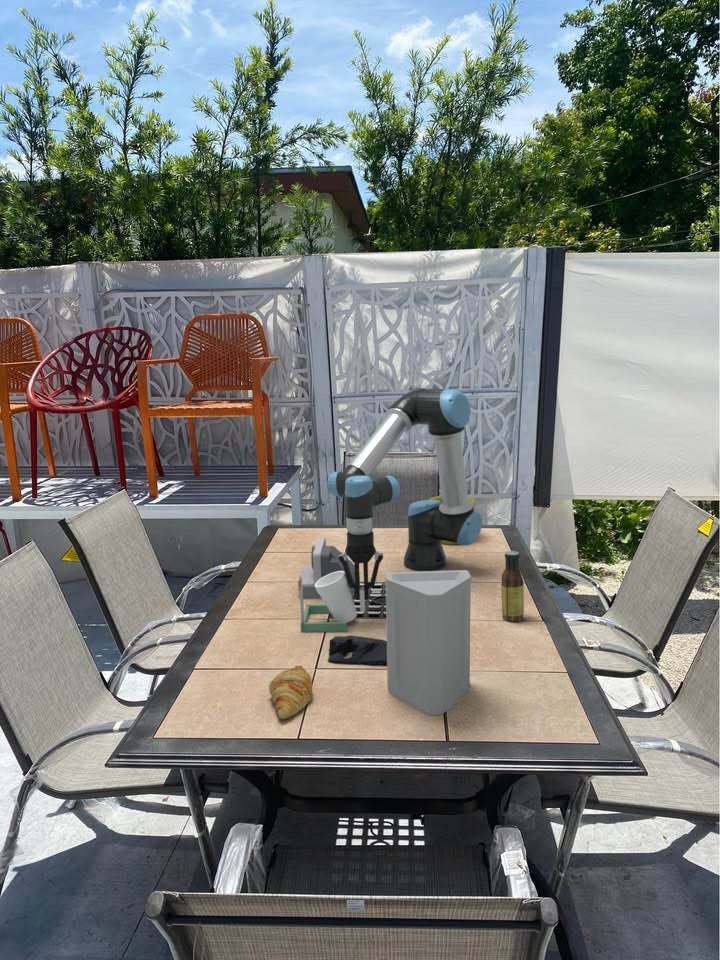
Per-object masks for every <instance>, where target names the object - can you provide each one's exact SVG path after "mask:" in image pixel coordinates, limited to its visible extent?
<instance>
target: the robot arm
mask: <svg viewBox="0 0 720 960" xmlns="http://www.w3.org/2000/svg"><path fill="white" fill-rule="evenodd" d="M470 415H471V406H470V401H469V399H468V398H467V396H466V395H465V394H464V393H463V392H462V391H461V390H458V389H457V390H454V389H452V388H450V389H449V388H446V389H443V388H424V387H423V388H422V387H421V388H420V387H419V388H416V389H413V390H411V391H409V392H407V393H405V394H403V395H402V396H401V397H399V398H398V399H397V400H396V401H394V403H393V404H392V405H391V406H390V407H389V408H388V409H387V411H386V412H385V418H384V419H383V420H382V422H381V423H380V424H379V425H378V426H377V428H376V429H375V431H374V432H373V433H372V434H371V436H370V437H369V438H368V439H367V441H366V442H365V443H364V444H363V445H362V447H361V448H360V449H359V450H358V452H357V453H356V454H355V455H354V457H353V458H352V459H351V461H350V462H348V464H347V465H346V467H344V469H343V470H342V471H334V472H332V473H331V474H330V475H329V476H328V479H327V483H326V487H327V490H328V493H329V494H331V495H332V496H335V497H338V498H341V499H345V511H346V514H345V518H346V521H345V523H346V531H347V533H346V545H347V546H346V549H345V552H343V553H342V554H340V555H339V560H340V562H341V563H342V564H343V567H344V571H345V574H346V577H347V581H348V584H349V587H350V588H355V590H356V593H355V599H356V600H357V601H359V609H360V610H359V611H360V612H362V613H363V612H364V613H365V612H366V600H369V593H370V592H369V590H370V589H371V588H374V587H375V584H376V581H377V576H378V572H379V567H380V564H381V562H382V560H383V559H384V553H382V552H379V551H377V550H376V549H377V548H376V547H375V542H374V538H375V537H374V536H375V535H374V531H373V530H374V513H373V512H374V511H373V510H374V509H373V508H374V507H377V506H380V505H383V504H388V503H390V502H392V501H394V500H396V499H397V498H398V497H399V495H400V492H401V487H400V483H399V481H398V480H397V479H396V478H395V477H394V476H391V475H383V476H382V475H381V476H380V477H378V476H377V477H376V476H372V474H374V472H375V471H376V469H377V467H378V466H379V465H380V464H381V463H382V462H383V460H384V459H385V458H386V456H387V455H388V453H389V452H390V451H391V450H392V449H393V447H394V446H395V444H397V442H398V441H399V440H400V438H401V437H402V435H404V433H408V432H409V431H410V430H411V429H412V428H413V427H414V426H416V425H425V426H426V425H427V428H428V434H429V435H430V436H431V437H433V438H434V439H433V440H434V444H435V445H434V448H435V453H436V455H435V456H436V462H437V468H438V476H439V484H440V493H441V496H442V501H443V502H442V503H441V501H439V500H430V499H425V500H423V499H422V500H419V501H415V502H412V503H411V504H409V506H408V513H407V520H408V522H407V523H408V524H407V525H408V527H407V528H408V533H407V534H408V545H407V547H406V551H405V553H404V557H403V566H405V568H407V569H408V570H412V571H413V570H414V571H417V572H422V571H439V570H441V569H444V568H445V567H446V566H447V557H446V554H445V553H446V552H445V550H444V548H443V545H442V543H441V540H443V541H448V542H453V543H458V544H457V545H464V546H470V545H472V544H474V543H475V541H476V540H477V539H478V537H479V536H480V533H481V530H482V527H483V516H482V514H481V513H480V512H478V511H475V506H474V507H473V503H472V502H471V501H470V500H468V497H469V496H468V495H469V494H468V487H467V478H466V477H467V476H466V469H465V461H464V452H463V442H462V433H463V432H464V431H465V429H466V428H465V427H466V426H467V425H468V423H469V422H470ZM373 557H374V559H375V561H374V563H373V564H374V565H373V570H372V573H371V574H372V575H371V578H370V581H369V562H370V561H371V559H373ZM347 558H348V559H349V560H350V561H351V562H352V563H353V564H354V566H355V582H353V579H352V575H351V572H350V569H349V565H348V562H347ZM360 564H362V565H363V569H362V570H363V586H361V580H360V579H361V577H360V575H361V574H360Z"/></svg>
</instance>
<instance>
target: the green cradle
mask: <svg viewBox="0 0 720 960" xmlns="http://www.w3.org/2000/svg"><path fill="white" fill-rule="evenodd" d="M297 585H298V587H297V588H298V592H299V591H300V597H299V599H300V600H299V603H300V632H301V633H348V622H337V621H329V622H328V621H326V622H325V621H321V622H320V621H319V622H318V621H316V622H315V621H314V622H313V621H309V618H310V615H311V614H313V615H314V614H316V615H317V614H318V615H319V614H320V615H321V614H322V615H325V614H327V615H329V614H330V615H332V614H331V612H330V611H329V609H328V608H327V606H326V604H325V603H324V604H306V606H305V608H304V599H303V586H302V575H301V574H300V575H298V581H297Z"/></svg>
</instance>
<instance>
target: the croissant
mask: <svg viewBox="0 0 720 960" xmlns="http://www.w3.org/2000/svg"><path fill="white" fill-rule="evenodd" d="M268 693H269V694H270V698H271V699H270V700H271V701H272V702H273V704H275V705H274V706H275V710H276V711H277V715H278V717H279V719H281V720H286V719H288V718H291V717H292V716H294V715H296V714H298V713H299V711H301V710H302V709H304V708H305V707H306V705H308V704H309V703H310V702H312V700H313V681H312V677H311V675H310V673H308V672H307V670H306V669H305V668H304V667H303V666H302V665H295V666H294V667H292V668H290V669H285V670H283V671H281V672H280V673H278V674H277V676H275V677H274V678H272V680H271V681H270V682H269V684H268Z"/></svg>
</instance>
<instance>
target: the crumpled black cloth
mask: <svg viewBox="0 0 720 960" xmlns="http://www.w3.org/2000/svg"><path fill="white" fill-rule="evenodd" d="M348 653H351V656H349V657H346V655H347V654H348ZM327 661H329V663H343V664H351V665H352V664H355V665H357V664H358V665H361V664H370V665H374V664H376V665H387V640H384V639H380V638H373V637H367V636H366V637H365V636H358V635H357V636H356V635H345V636H344V635H336V636H333V638H331V639H329V648H328V658H327Z"/></svg>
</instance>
